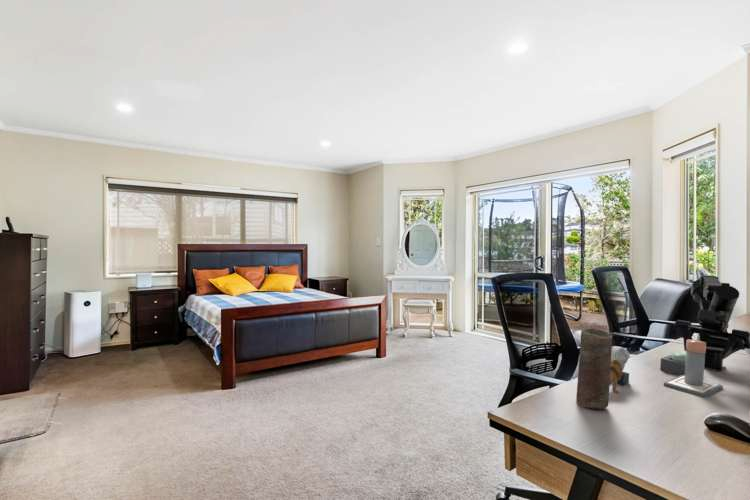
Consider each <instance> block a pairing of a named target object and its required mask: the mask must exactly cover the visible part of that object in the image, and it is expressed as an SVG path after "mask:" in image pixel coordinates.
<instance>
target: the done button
mask: <svg viewBox="0 0 750 500" xmlns="http://www.w3.org/2000/svg"><path fill="white" fill-rule="evenodd" d="M671 355H672V359H671V360H674V361H678V362H682V363H685V362H686V353H685V354H684V353H679V352H671Z"/></svg>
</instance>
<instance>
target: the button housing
mask: <svg viewBox="0 0 750 500" xmlns="http://www.w3.org/2000/svg"><path fill="white" fill-rule="evenodd" d="M671 359H672V354H671V355H670V354H669V355H668V356H664V357H661V358H660V368H659V370H660V371H662V372H666V373H667V372H668V373H671V374H675V375H678V376H681V375H685V363H682V362H678V361H674V360H671Z"/></svg>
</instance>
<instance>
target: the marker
mask: <svg viewBox="0 0 750 500" xmlns="http://www.w3.org/2000/svg"><path fill="white" fill-rule="evenodd" d="M705 353H706V343H705V342H703V341H698V340H697V339H692V340H686V351H685V355H686V362H685V377H684V382H685V383H687V384H690V385H693V386H703V380H704V377H705V376H704V373H705V368H704V362H705Z"/></svg>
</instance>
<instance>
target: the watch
mask: <svg viewBox="0 0 750 500" xmlns="http://www.w3.org/2000/svg"><path fill="white" fill-rule="evenodd" d="M630 356H631V355H630V352H629V351H628V350H627V349H626V348H624V347H623V346H618V345H617V346H616V345H612V350H611V359H617V360H619V361H620V363H621V364H622V377H621V379H620V380H618V381H617V386H622V387H624V386H626V385H627V384H629V383H630V372H627V371H626V372H625V371H624V370H625V367H626V366H625V365H626V364H627V363H628V361H629V358H630ZM611 383H612V382H610V384H611ZM612 384H613V383H612Z"/></svg>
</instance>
